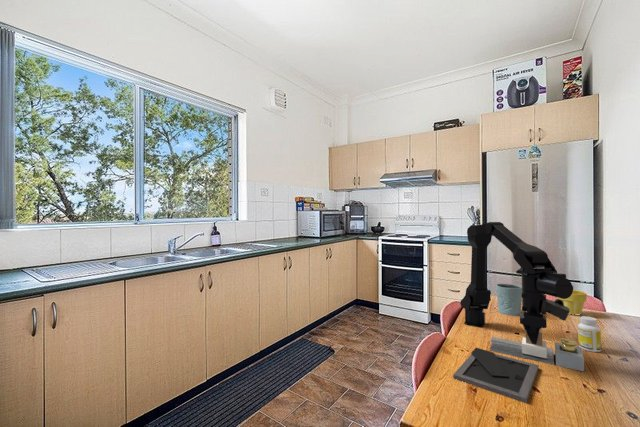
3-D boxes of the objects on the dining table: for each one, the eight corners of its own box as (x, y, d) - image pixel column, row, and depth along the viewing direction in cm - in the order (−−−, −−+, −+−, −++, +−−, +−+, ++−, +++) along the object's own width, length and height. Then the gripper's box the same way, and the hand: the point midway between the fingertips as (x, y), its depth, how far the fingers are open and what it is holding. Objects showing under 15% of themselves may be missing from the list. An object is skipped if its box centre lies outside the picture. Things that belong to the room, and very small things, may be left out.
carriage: (522, 353, 90) (521, 330, 90) (523, 346, 95) (522, 324, 95) (546, 359, 87) (546, 334, 87) (546, 351, 92) (546, 328, 92)
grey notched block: (556, 365, 85) (555, 351, 85) (555, 355, 91) (554, 342, 91) (584, 371, 81) (583, 357, 81) (581, 360, 87) (580, 347, 88)
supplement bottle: (595, 346, 97) (594, 316, 97) (605, 353, 92) (604, 321, 92) (575, 344, 99) (574, 314, 99) (583, 351, 94) (582, 320, 94)
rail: (490, 350, 95) (489, 342, 95) (493, 342, 101) (493, 334, 101) (553, 364, 85) (553, 355, 85) (553, 354, 91) (552, 346, 91)
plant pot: (592, 318, 124) (592, 294, 125) (563, 316, 127) (562, 293, 127) (579, 311, 134) (578, 289, 135) (552, 309, 137) (551, 288, 137)
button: (560, 354, 86) (560, 341, 86) (560, 349, 89) (560, 337, 89) (577, 357, 84) (576, 344, 84) (576, 353, 86) (575, 340, 87)
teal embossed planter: (495, 313, 132) (495, 286, 132) (497, 307, 140) (496, 282, 140) (523, 317, 126) (522, 289, 126) (523, 311, 134) (522, 285, 134)
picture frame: (476, 353, 94) (453, 380, 78) (475, 347, 94) (453, 372, 78) (538, 370, 83) (526, 405, 67) (538, 363, 83) (526, 396, 67)
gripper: (569, 301, 79) (570, 360, 79) (565, 288, 94) (566, 337, 94) (519, 295, 86) (520, 349, 85) (522, 283, 101) (523, 330, 100)
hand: (534, 341), depth 91 cm, fingers closed on carriage, 4 cm apart
